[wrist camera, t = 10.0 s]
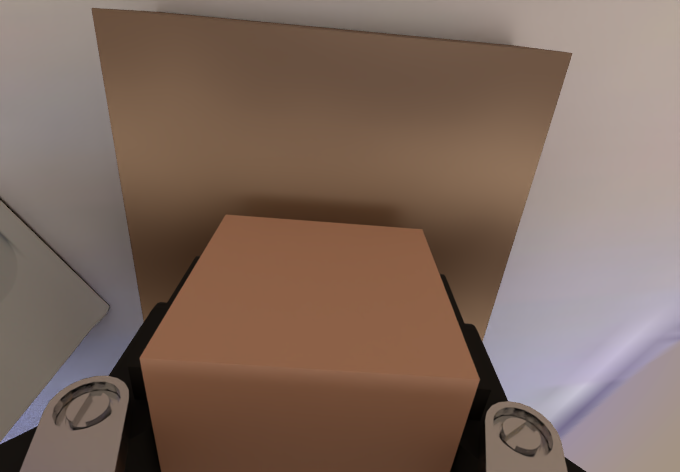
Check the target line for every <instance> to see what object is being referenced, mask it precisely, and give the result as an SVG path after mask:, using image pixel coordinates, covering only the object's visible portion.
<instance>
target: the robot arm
mask: <svg viewBox="0 0 680 472" xmlns="http://www.w3.org/2000/svg"><path fill="white" fill-rule="evenodd" d="M200 257H201V256H196V257H195V258H194V260H193V262H192V263H191V265H190V266H189V268H188V270H187V271H186V273H185V275H184V276H183V278H182V279H181V281H180V283H179V284H178V286H177V288H176V289H175V291H174V292H173V294H172V296H171V297H170V299H169V300H168V302H167V303H166V302H159V303H157V304H156V305H155V306H154V307H153V309H152V310H151V312H150V313H149V315H148V316H147V318H146V320H145V321H144V323H143V324H142V326H141V327H140V329H139V330H138V332H137V333H136V335H135V336H134V338H133V339H132V341H131V342H130V344H129V346H128V347H127V349H126V350H125V352H124V353H123V355H122V356H121V358H120V359H119V361H118V362H117V364H116V365H115V367H114V368H113V370H112V371H111V373H110V375H109V376H94V377H90V378H86V379H82V380H80V381H78V382H75V383H73V384H71V385H69V386H67V387H66V388H64V389H63V390H61V391H60V392H59V393H58V394H56V395H55V396H54V397H53V398H52V399H51V400H50V402H49V403H48V405H47V407H46V408H45V410H44V412H43V414H42V417H41V419H40V422H39V424H38V426H37V427H35V428H33V429H31V430H29V431H27V432H25V433H23V434H21V435H19V436H17V437H15V438H12V439H10V440H8V441H6V442H4V443H2V444H0V472H161V468H160V463H159V458H158V452H157V447H156V442H155V437H154V432H153V426H152V421H151V416H150V411H149V405H148V400H147V395H146V390H145V384H144V379H143V374H142V369H141V363H140V356H141V355H142V353H143V351H144V350H145V348H146V346H147V345H148V343H149V341H150V340H151V338H152V336H153V335H154V333H155V331H156V330H157V328H158V326H159V325H160V323H161V322H162V320H163V318H164V317H165V315H166V313H167V312H168V310H169V308H170V307H171V305H172V303H173V302H174V300H175V298H176V297H177V295H178V293H179V292H180V290H181V288H182V287H183V285H184V283H185V282H186V280H187V278H188V277H189V275H190V273H191V272H192V270H193V268H194V267H195V265H196V263H197V262H198V260H199V258H200ZM440 277H441V279H442V282H443V285H444V287H445V290H446V292H447V295H448V298H449V300H450V303H451V306H452V308H453V311H454V313H455V316H456V319H457V321H458V324H459V326H460V329H461V332H462V334H463V337H464V339H465V342H466V345H467V347H468V350H469V352H470V355H471V358H472V360H473V363H474V366H475V368H476V371H477V373H478V376H479V379H480V381H479V384H478V387H477V390H476V393H475V396H474V399H473V402H472V405H471V408H470V411H469V415H468V418H467V421H466V424H465V427H464V430H463V433H462V436H461V439H460V442H459V445H458V448H457V451H456V454H455V457H454V461H453V464H452V467H451V470H450V472H586V471H584V470H583V469H581V468H580V467H578V466H577V465H576V464H574V463H573V462H571V461H570V460H568V459H567V458H565V457H564V453H563V448H562V443H561V440H560V437H559V435H558V432H557V431H556V429H555V428H554V427H553V425H552V424H551V422H549V421H548V420H547V419H546V418H545V417H544V416H543V415H542V414H540V413H539V412H537V411H536V410H534V409H532V408H531V407H528V406H526V405H523V404H521V403H516V402H510V401H508V400H507V398H506V395H505V393H504V391H503V388H502V386H501V384H500V381H499V379H498V377H497V375H496V372H495V370H494V368H493V365H492V363H491V361H490V358H489V356H488V354H487V352H486V349H485V347H484V345H483V342H482V340H481V338H480V335H479V333H478V331H477V329H476V327H475V326H474V325H473V324H466V323H464V321H463V318H462V316H461V313H460V311H459V308H458V306H457V303H456V301H455V298H454V296H453V294H452V291H451V289H450V286H449V284H448V281H447V279H446V276H445V275H444V274H440Z"/></svg>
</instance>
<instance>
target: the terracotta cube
mask: <svg viewBox="0 0 680 472" xmlns="http://www.w3.org/2000/svg"><path fill="white" fill-rule="evenodd" d="M140 363H141V369H142V374H143V379H144V384H145V390H146V395H147V400H148V405H149V411H150V416H151V421H152V426H153V432H154V437H155V442H156V447H157V452H158V458H159V463H160V468H161V472H450V470H451V467H452V464H453V461H454V457H455V454H456V451H457V448H458V445H459V442H460V439H461V436H462V433H463V430H464V427H465V424H466V421H467V418H468V415H469V411H470V408H471V405H472V402H473V399H474V396H475V393H476V390H477V387H478V384H479V381H480V379H479V376H478V373H477V371H476V368H475V366H474V363H473V360H472V358H471V355H470V352H469V350H468V347H467V345H466V342H465V339H464V337H463V334H462V332H461V329H460V326H459V324H458V321H457V319H456V316H455V313H454V311H453V308H452V306H451V303H450V300H449V298H448V295H447V292H446V290H445V287H444V285H443V282H442V279H441V277H440V274H439V272H438V269H437V266H436V264H435V261H434V259H433V256H432V253H431V251H430V248H429V246H428V243H427V240H426V238H425V235H424V233H423V230H422V229H412V228H399V227H386V226H372V225H359V224H345V223H332V222H319V221H305V220H292V219H278V218H265V217H252V216H238V215H225V217H224V218H223V220H222V222H221V223H220V225H219V227H218V228H217V230H216V232H215V233H214V235H213V237H212V238H211V240H210V242H209V243H208V245H207V247H206V248H205V250H204V252H203V253H202V255H201V257H200V258H199V260H198V262H197V263H196V265H195V267H194V268H193V270H192V272H191V273H190V275H189V277H188V278H187V280H186V282H185V283H184V285H183V287H182V288H181V290H180V292H179V293H178V295H177V297H176V298H175V300H174V302H173V303H172V305H171V307H170V308H169V310H168V312H167V313H166V315H165V317H164V318H163V320H162V322H161V323H160V325H159V326H158V328H157V330H156V331H155V333H154V335H153V336H152V338H151V340H150V341H149V343H148V345H147V346H146V348H145V350H144V351H143V353H142V355H141V356H140Z"/></svg>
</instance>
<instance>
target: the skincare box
mask: <svg viewBox="0 0 680 472" xmlns="http://www.w3.org/2000/svg"><path fill="white" fill-rule="evenodd" d="M108 309H109V305H108V304H107V303H106V302H105V301H104V300H102V299H101V298H100V297H99V296H98V295H97V294H96V293H95V292H94V291H93V290H92V289H91V288H90V287H89V286H88V285H87V284H86V283H85V282H84V281H83V280H82V279H81V278H80V277H79V276H78V275H77V274H76V273H75V272H74V271H73V270H72V269H71V268H70V267H69V266H68V265H67V264H66V263H64V262H63V261H62V260H61V259H60V258H59V257H58V256H57V255H56V254H55V253H54V252H53V251H52V250H51V249H50V248H49V247H48V246H47V245H46V244H45V243H44V242H43V241H42V240H41V239H40V238H39V237H38V236H37V235H36V234H35V233H34V232H33V231H32V230H31V229H30V228H29V227H27V226H26V225H25V224H24V223H23V222H22V221H21V220H20V219H19V218H18V217H17V216H16V215H15V214H14V213H13V212H12V211H11V210H10V209H9V208H8V207H7V206H6V205H5V204H4V203H3V202H2V201H1V200H0V442H1V440H2V439H3V438H4V437H5V435H6V434H7V433H8V432H9V430H10V429H11V428H12V427H13V426H14V424H15V423H16V422H17V421H18V419H19V418H20V417H21V416H22V414H23V413H24V412H25V411H26V410H27V408H28V407H29V406H30V405H31V403H32V402H33V401H34V400H35V398H36V397H37V396H38V395H39V394H40V392H41V391H42V390H43V389H44V387H45V386H46V385H47V384H48V383H49V381H50V380H51V379H52V378H53V376H54V375H55V374H56V373H57V371H58V370H59V369H60V368H61V366H62V365H63V364H64V363H65V361H66V360H67V359H68V358H69V356H70V355H71V354H72V353H73V351H74V350H75V349H76V348H77V346H78V345H79V344H80V343H81V341H82V340H83V339H84V337H85V336H86V335H87V334H88V332H89V331H90V330H91V329H92V328H93V327H94V326H95V325H96V324H97V323H98V322H99V321H100V320H101V319H102V318H103V317H104V316H105V315H106V314H107V311H108Z"/></svg>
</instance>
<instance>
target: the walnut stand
mask: <svg viewBox="0 0 680 472" xmlns="http://www.w3.org/2000/svg"><path fill="white" fill-rule="evenodd" d="M92 14H93V20H94V26H95V32H96V38H97V44H98V50H99V56H100V62H101V68H102V74H103V80H104V86H105V92H106V98H107V104H108V110H109V116H110V122H111V128H112V134H113V140H114V146H115V152H116V158H117V164H118V170H119V176H120V182H121V188H122V194H123V200H124V206H125V212H126V218H127V224H128V230H129V236H130V242H131V248H132V254H133V260H134V266H135V272H136V278H137V284H138V290H139V296H140V302H141V308H142V314H143V320H144V321H145V320H146V318H147V316H148V315H149V313H150V312H151V310H152V309H153V307H154V306H155V305H156V304H157V303H159V302H166V303H167V302H168V300H169V299H170V297H171V296H172V294H173V292H174V291H175V289H176V288H177V286H178V284H179V283H180V281H181V279H182V278H183V276H184V275H185V273H186V271H187V270H188V268H189V266H190V265H191V263H192V262H193V260H194V258H195V257H196V256H201V255H202V253H203V252H204V250H205V248H206V247H207V245H208V243H209V242H210V240H211V238H212V237H213V235H214V233H215V232H216V230H217V228H218V227H219V225H220V223H221V222H222V220H223V218H224V217H225V215H238V216H252V217H265V218H278V219H292V220H305V221H319V222H332V223H345V224H359V225H372V226H386V227H399V228H412V229H422V230H423V233H424V235H425V238H426V240H427V243H428V246H429V248H430V251H431V253H432V256H433V259H434V261H435V264H436V266H437V269H438V272H439V274H444V275H445V276H446V279H447V281H448V284H449V286H450V289H451V291H452V294H453V296H454V298H455V301H456V303H457V306H458V308H459V311H460V313H461V316H462V318H463V321H464V323H466V324H473V325H474V326H475V327H476V329H477V331H478V333H479V335H480V338H481V340H482V341H483V338H484V335H485V331H486V328H487V325H488V322H489V319H490V315H491V312H492V309H493V306H494V303H495V299H496V296H497V293H498V290H499V287H500V283H501V280H502V277H503V274H504V271H505V267H506V264H507V261H508V258H509V255H510V251H511V248H512V245H513V242H514V239H515V235H516V232H517V229H518V226H519V223H520V219H521V216H522V213H523V210H524V207H525V203H526V200H527V197H528V194H529V191H530V187H531V184H532V181H533V178H534V175H535V171H536V168H537V165H538V162H539V159H540V155H541V152H542V149H543V146H544V143H545V139H546V136H547V133H548V130H549V127H550V123H551V120H552V117H553V114H554V111H555V107H556V104H557V101H558V98H559V95H560V91H561V88H562V85H563V82H564V79H565V75H566V72H567V69H568V66H569V63H570V59H571V56H572V53H567V52H560V51H552V50H544V49H537V48H529V47H521V46H513V45H503V44H492V43H481V42H471V41H460V40H450V39H439V38H428V37H418V36H407V35H397V34H386V33H375V32H365V31H354V30H343V29H333V28H322V27H312V26H301V25H290V24H280V23H269V22H258V21H248V20H237V19H227V18H216V17H205V16H195V15H184V14H174V13H163V12H150V11H133V10H117V9H100V8H92Z"/></svg>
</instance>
